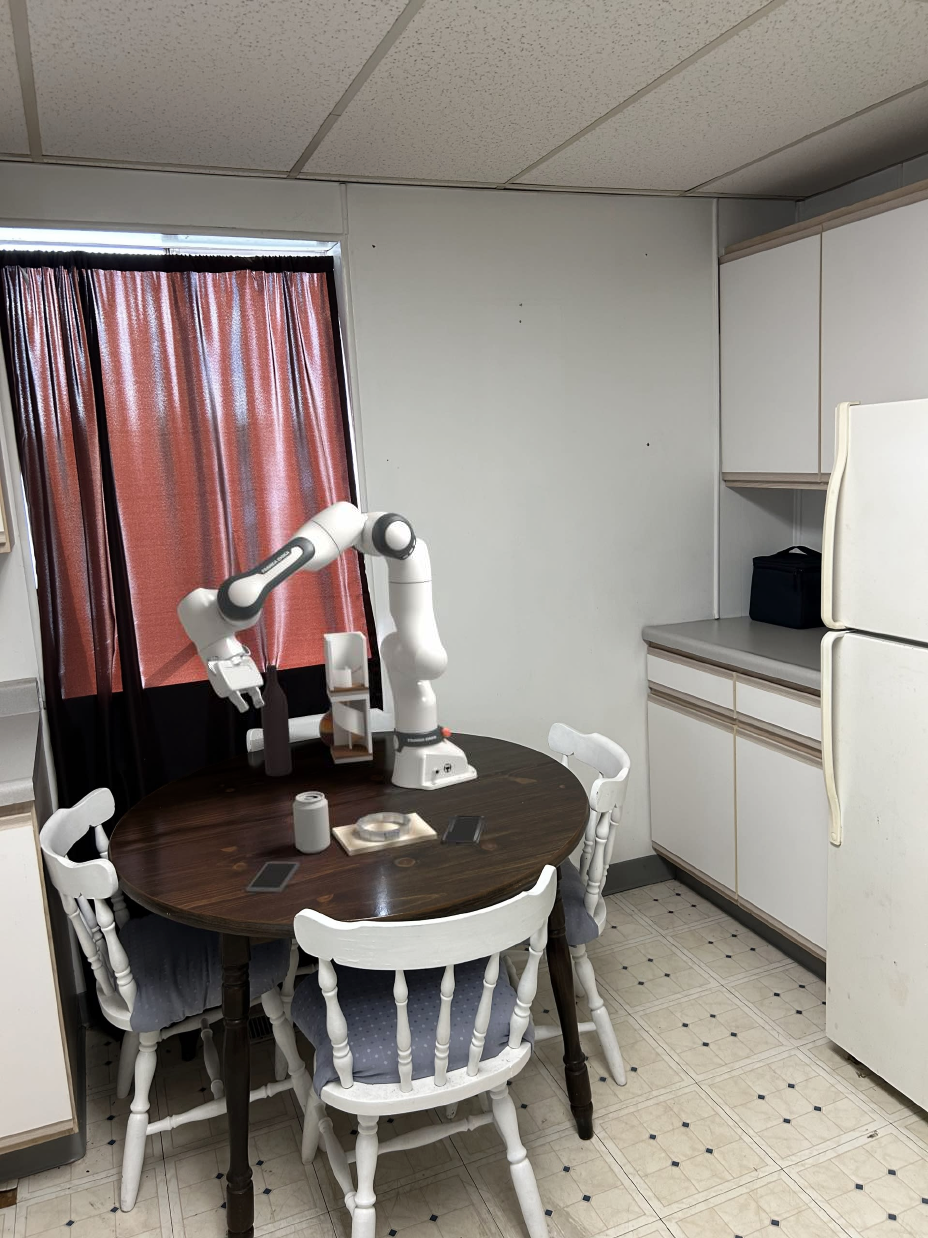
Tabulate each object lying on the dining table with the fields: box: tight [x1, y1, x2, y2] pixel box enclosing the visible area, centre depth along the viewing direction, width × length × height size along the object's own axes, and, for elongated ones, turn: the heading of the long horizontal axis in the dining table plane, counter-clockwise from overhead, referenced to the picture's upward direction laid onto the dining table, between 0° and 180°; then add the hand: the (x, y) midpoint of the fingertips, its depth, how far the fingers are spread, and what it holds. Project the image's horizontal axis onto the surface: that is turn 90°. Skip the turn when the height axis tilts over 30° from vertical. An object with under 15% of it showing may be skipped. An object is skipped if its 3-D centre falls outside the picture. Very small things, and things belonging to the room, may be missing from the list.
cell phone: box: [245, 861, 300, 894], centre depth 194 cm, size 7×14×1 cm, turn 173°
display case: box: [323, 631, 373, 765], centre depth 269 cm, size 11×11×35 cm
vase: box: [318, 697, 334, 748], centre depth 284 cm, size 11×11×15 cm
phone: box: [442, 815, 486, 846], centre depth 214 cm, size 8×1×15 cm
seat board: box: [332, 812, 438, 856], centre depth 213 cm, size 20×14×1 cm
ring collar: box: [355, 811, 411, 842], centre depth 213 cm, size 12×12×2 cm
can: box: [292, 791, 331, 854], centre depth 207 cm, size 8×8×12 cm
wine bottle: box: [260, 664, 293, 777], centre depth 257 cm, size 7×7×30 cm
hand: (253, 708), depth 213 cm, fingers open, 8 cm apart
